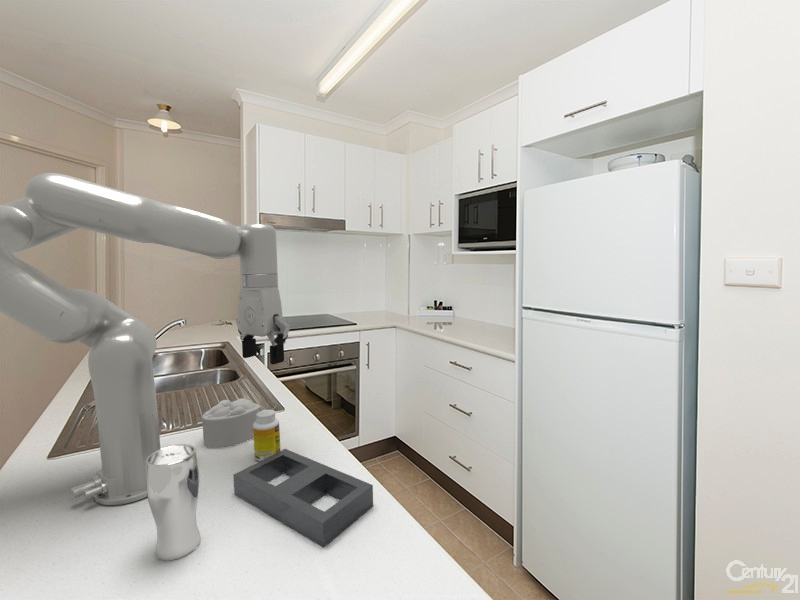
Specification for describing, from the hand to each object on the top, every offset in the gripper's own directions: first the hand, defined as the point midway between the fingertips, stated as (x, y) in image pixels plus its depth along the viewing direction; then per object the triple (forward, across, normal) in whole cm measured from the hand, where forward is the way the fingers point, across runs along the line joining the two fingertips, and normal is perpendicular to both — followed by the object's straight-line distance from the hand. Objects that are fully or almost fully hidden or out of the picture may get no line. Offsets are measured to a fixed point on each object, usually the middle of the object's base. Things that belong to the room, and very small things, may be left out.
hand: (263, 359), depth 85 cm
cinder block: (+22, +19, -7) cm, 30 cm away
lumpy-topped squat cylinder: (+23, -16, +1) cm, 27 cm away
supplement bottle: (+22, 0, 0) cm, 22 cm away
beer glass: (+23, +12, -25) cm, 36 cm away
